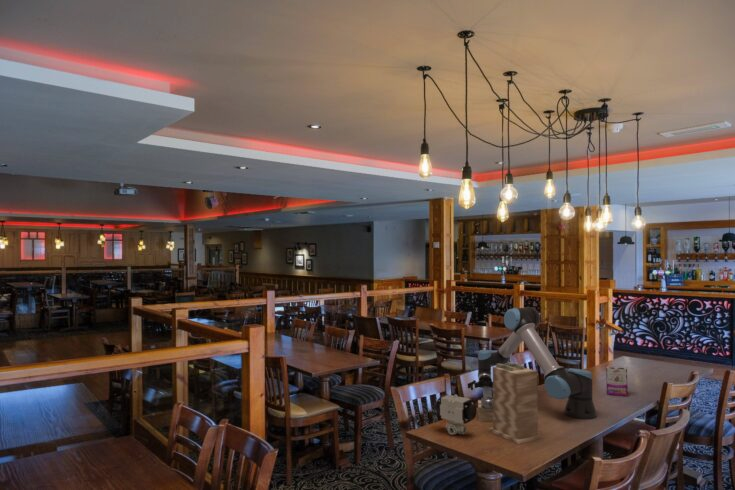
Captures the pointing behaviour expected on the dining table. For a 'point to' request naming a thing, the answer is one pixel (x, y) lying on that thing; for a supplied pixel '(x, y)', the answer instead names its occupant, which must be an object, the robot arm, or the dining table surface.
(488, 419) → the beech block
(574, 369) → the robot arm
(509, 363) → the oak stand
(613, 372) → the candy bar box
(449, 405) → the ball valve
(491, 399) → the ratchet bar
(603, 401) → the dining table surface
